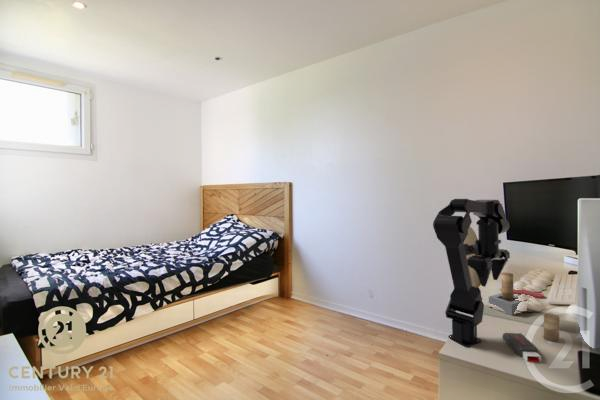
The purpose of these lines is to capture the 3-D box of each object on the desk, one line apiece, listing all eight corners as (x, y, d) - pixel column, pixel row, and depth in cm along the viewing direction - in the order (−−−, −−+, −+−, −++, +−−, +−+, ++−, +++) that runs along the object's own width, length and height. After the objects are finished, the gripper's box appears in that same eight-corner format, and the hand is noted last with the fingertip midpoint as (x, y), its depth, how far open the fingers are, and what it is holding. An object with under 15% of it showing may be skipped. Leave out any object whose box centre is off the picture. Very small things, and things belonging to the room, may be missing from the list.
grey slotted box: (511, 315, 107) (511, 304, 106) (488, 307, 114) (488, 296, 114) (527, 310, 110) (527, 299, 109) (504, 302, 118) (504, 292, 117)
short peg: (553, 343, 88) (553, 319, 88) (540, 337, 91) (541, 314, 91) (562, 340, 89) (562, 317, 89) (549, 335, 92) (549, 312, 92)
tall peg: (512, 311, 110) (511, 275, 109) (501, 309, 112) (500, 274, 111) (514, 308, 112) (514, 273, 111) (503, 306, 114) (503, 272, 114)
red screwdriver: (500, 285, 132) (544, 293, 122) (500, 289, 132) (544, 297, 122) (498, 288, 129) (543, 296, 119) (498, 292, 129) (543, 300, 119)
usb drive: (522, 340, 91) (521, 331, 91) (545, 364, 79) (545, 353, 79) (502, 339, 92) (502, 330, 92) (522, 362, 81) (522, 352, 80)
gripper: (475, 231, 114) (476, 272, 115) (450, 238, 103) (451, 284, 104) (509, 234, 105) (510, 278, 106) (486, 242, 94) (487, 292, 95)
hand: (489, 282), depth 103 cm, fingers open, 9 cm apart
